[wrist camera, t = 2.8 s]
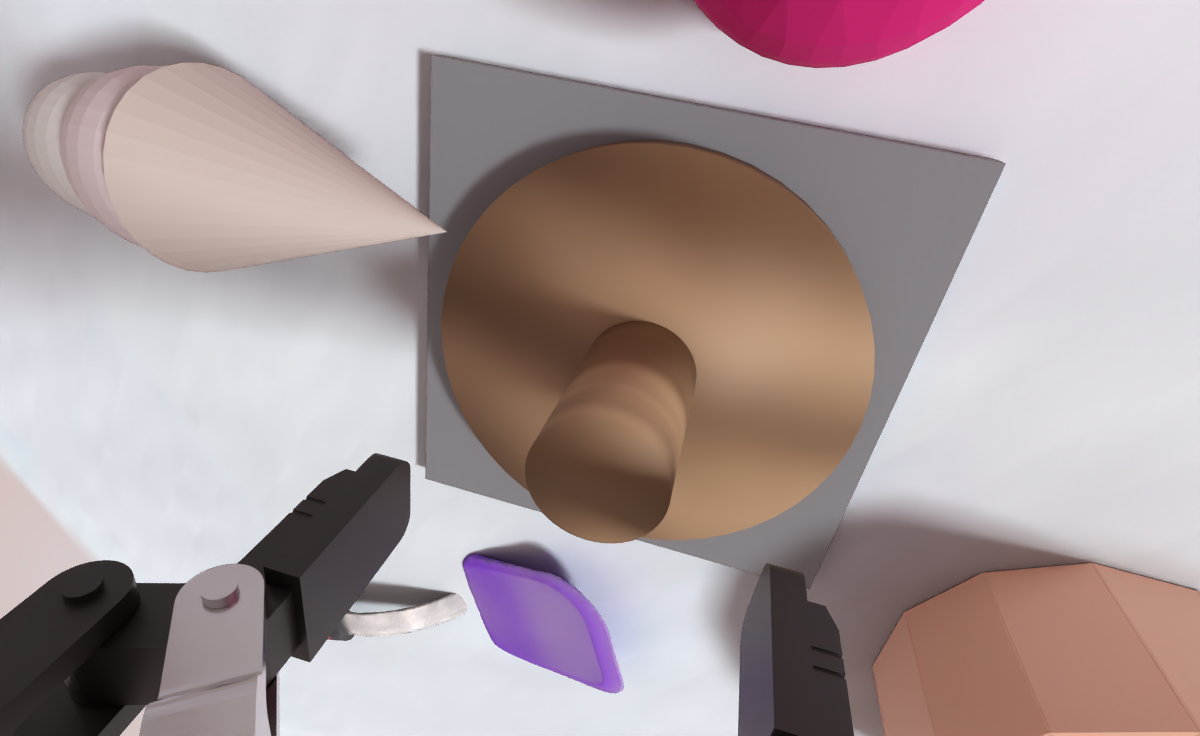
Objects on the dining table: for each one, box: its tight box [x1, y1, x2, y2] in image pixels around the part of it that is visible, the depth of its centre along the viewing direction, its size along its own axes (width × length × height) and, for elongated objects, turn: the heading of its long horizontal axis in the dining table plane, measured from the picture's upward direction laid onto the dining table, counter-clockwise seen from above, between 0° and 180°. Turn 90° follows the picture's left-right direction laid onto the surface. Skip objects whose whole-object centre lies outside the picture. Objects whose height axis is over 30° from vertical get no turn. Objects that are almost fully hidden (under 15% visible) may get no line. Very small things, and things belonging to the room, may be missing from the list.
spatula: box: [328, 554, 624, 693], centre depth 30 cm, size 24×7×2 cm, turn 102°
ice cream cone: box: [22, 62, 446, 272], centre depth 18 cm, size 6×6×15 cm
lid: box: [441, 140, 875, 543], centre depth 18 cm, size 14×14×7 cm
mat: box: [425, 56, 1005, 589], centre depth 21 cm, size 16×16×1 cm
